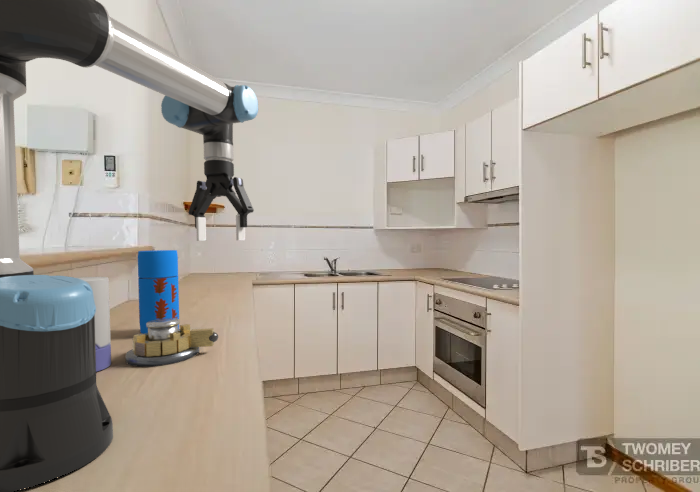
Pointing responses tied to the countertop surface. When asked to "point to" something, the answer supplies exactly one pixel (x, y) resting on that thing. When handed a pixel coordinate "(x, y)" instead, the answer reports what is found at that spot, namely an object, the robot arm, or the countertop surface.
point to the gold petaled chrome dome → (174, 341)
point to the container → (101, 320)
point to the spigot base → (160, 358)
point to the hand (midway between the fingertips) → (220, 240)
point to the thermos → (157, 286)
